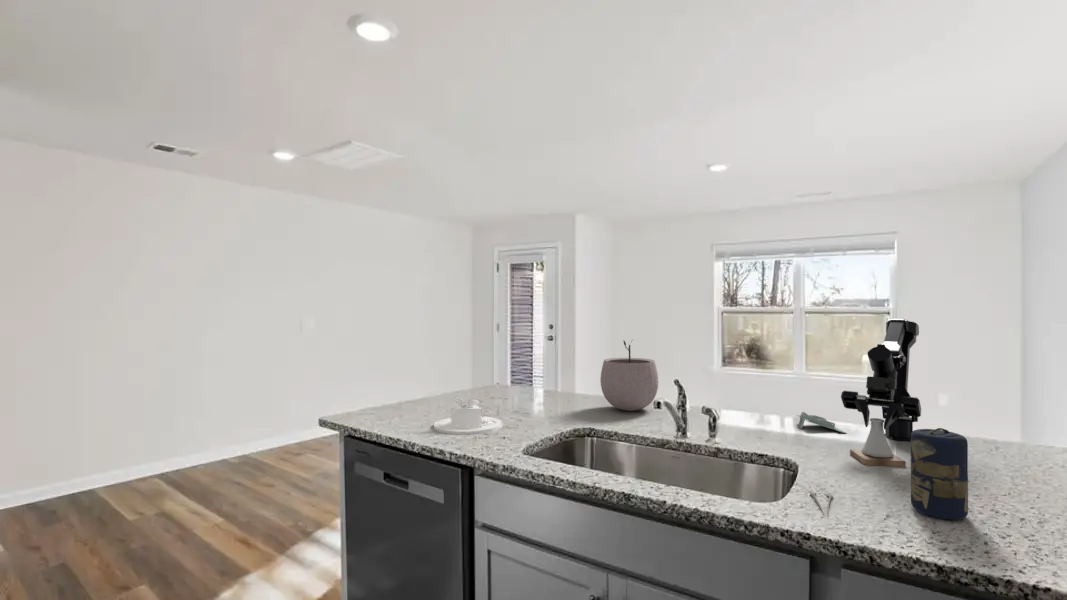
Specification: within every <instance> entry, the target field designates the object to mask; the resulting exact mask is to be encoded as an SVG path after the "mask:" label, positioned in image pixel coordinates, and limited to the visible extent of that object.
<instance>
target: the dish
mask: <svg viewBox="0 0 1067 600" xmlns="http://www.w3.org/2000/svg"><path fill="white" fill-rule="evenodd" d="M454 401H455V402H456V404H458V405H457V406H455V407H453V408H451V410H450V411H451V412H450V415H451V417H447V418H444V419H440V420H437V421H436V422H435V423H433V429H434V430H435V431H437V432H440V433H443V434H449V435H450V434H451V435H476V434H484V433H489V432H494V431H496V430H499V429H500V428H502V427H503V421H502V420H501V419H499V418H497V417H496V418H495V417H491V416H485V415H484V416H482V413H483V411H482V408H481V406H480V407H479V406H478V404H480V401H479V400H477V399H473V398H472V399H467V400H465V401H464V400H463V399H462V398H461V397H457V396H456V397H454ZM483 421H486V422H488V423H487V424H486V423H485V424H482V422H483ZM451 425H475V426H451Z"/></svg>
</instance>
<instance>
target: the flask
mask: <svg viewBox="0 0 1067 600" xmlns="http://www.w3.org/2000/svg"><path fill="white" fill-rule="evenodd" d="M869 421H870V422H871V423H870V429H869V433H868V436H867V437H866V441H865V442H864V445H863V446H862V448H861V450H862V451H861V452H863V453H864V454H866V455H870V456H874V457H884V458H888V457H893V454H894V453H893V451H892V450H891V449H892V448H891V447H890V444H889V442H888V439H887V436H885V430H884V422H885V419H883V418H875V417H874V418H873V417H871V418H869Z"/></svg>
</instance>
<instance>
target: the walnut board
mask: <svg viewBox="0 0 1067 600" xmlns="http://www.w3.org/2000/svg"><path fill="white" fill-rule="evenodd" d="M861 451H862V449H855V448H853V449H852V448H851V449H849V455H850V456H852V457H853V458H854V459H855V460H857V461H859V462H861V463H862V464H863V465H866V466H882V467H885V466H886V467H901V468H902V467H904V468H905V467H907V463H906V460H905V459H903V458H901V457H899V456H898V455H896V454H894V453H893V457H888V458H884V457H874V456H870V455H866V454H864V453H863V452H861Z"/></svg>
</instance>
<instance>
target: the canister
mask: <svg viewBox="0 0 1067 600" xmlns="http://www.w3.org/2000/svg"><path fill="white" fill-rule="evenodd" d="M968 442H969V441H968V440H967V438H966V436H964V435H962V434H959V433H956V432H952V431H949V430H948V429H945V428H942V427H938V428H935V429H933V428H918V429H915V430H914V429H913V432H912V433H911V441H910V504H911V506H912V507H913V508H914V509H915V510H916V511H918V512H920V513H922V514H924V515H927V516H930V517H934V518H939V519H944V520H953V521H954V520H963V519H965V518H966V517H967V516H968V514H969V473H968V471H969V470H968V468H969V458H968V457H969V454H968V453H969V445H968Z"/></svg>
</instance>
